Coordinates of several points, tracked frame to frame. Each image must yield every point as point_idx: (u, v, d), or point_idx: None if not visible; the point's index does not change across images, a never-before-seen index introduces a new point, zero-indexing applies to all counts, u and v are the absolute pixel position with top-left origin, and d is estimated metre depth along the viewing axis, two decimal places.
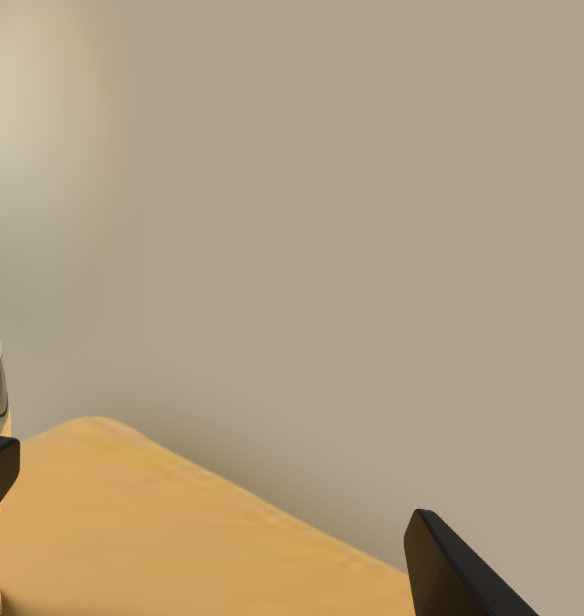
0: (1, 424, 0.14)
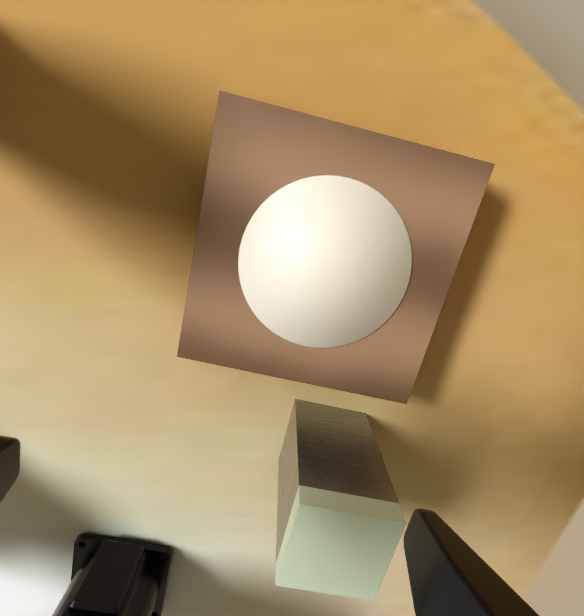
0: None
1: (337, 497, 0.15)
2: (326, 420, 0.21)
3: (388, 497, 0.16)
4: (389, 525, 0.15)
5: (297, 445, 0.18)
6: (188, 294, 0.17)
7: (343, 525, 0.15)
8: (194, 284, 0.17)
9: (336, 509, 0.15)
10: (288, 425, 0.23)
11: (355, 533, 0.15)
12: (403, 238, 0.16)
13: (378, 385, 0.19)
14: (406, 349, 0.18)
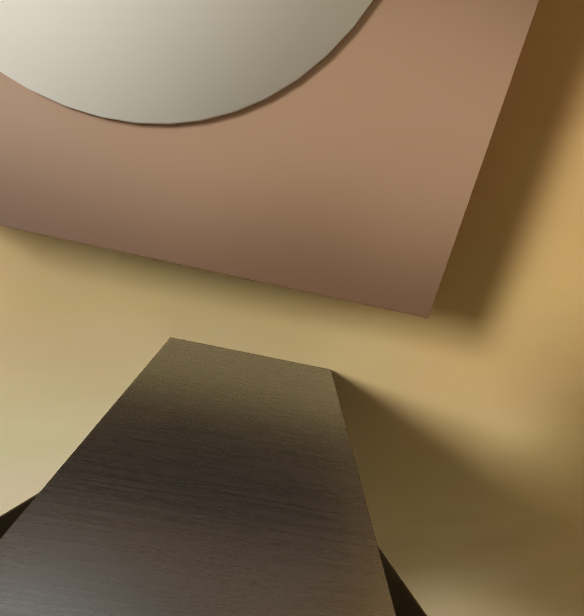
0: None
1: None
2: (224, 380, 0.08)
3: None
4: None
5: (87, 440, 0.06)
6: None
7: None
8: None
9: None
10: None
11: None
12: None
13: (344, 259, 0.06)
14: (427, 132, 0.06)
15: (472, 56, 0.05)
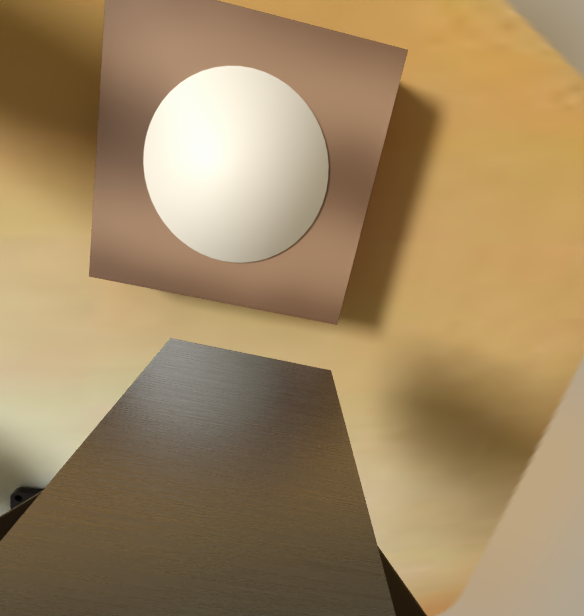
0: None
1: None
2: (224, 381, 0.08)
3: None
4: None
5: (87, 441, 0.06)
6: (94, 205, 0.16)
7: None
8: (100, 194, 0.16)
9: None
10: None
11: None
12: (316, 136, 0.15)
13: (305, 304, 0.18)
14: (331, 262, 0.17)
15: (343, 240, 0.17)
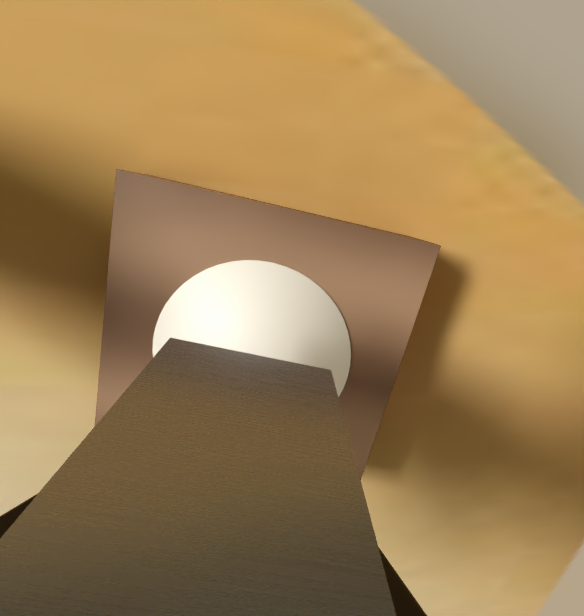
0: None
1: None
2: (224, 380, 0.08)
3: None
4: None
5: (86, 440, 0.06)
6: (99, 387, 0.15)
7: None
8: (105, 377, 0.15)
9: None
10: None
11: None
12: (339, 327, 0.14)
13: None
14: None
15: (364, 421, 0.16)
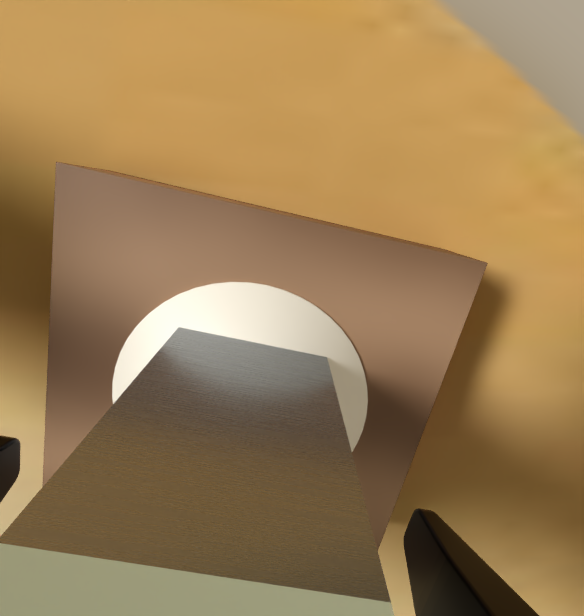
0: None
1: (138, 596, 0.04)
2: (229, 363, 0.09)
3: (353, 577, 0.04)
4: None
5: (111, 410, 0.07)
6: (46, 442, 0.12)
7: None
8: (53, 429, 0.12)
9: None
10: None
11: None
12: (353, 367, 0.11)
13: None
14: None
15: (383, 482, 0.12)
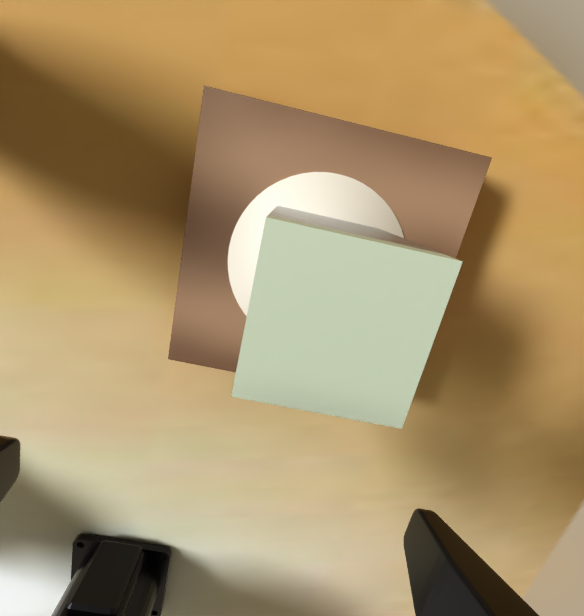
0: None
1: (336, 231, 0.09)
2: (321, 217, 0.14)
3: (425, 249, 0.09)
4: (431, 267, 0.08)
5: (273, 211, 0.11)
6: (178, 296, 0.17)
7: (347, 267, 0.08)
8: (183, 285, 0.17)
9: (333, 232, 0.08)
10: None
11: (369, 285, 0.08)
12: None
13: None
14: None
15: None
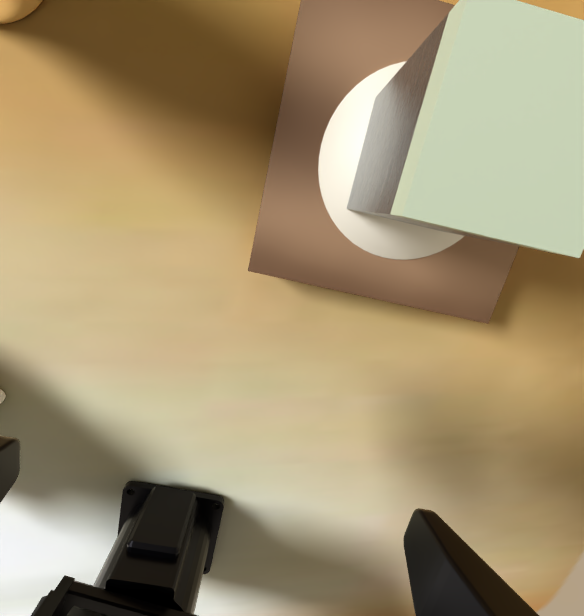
0: None
1: None
2: None
3: None
4: None
5: (410, 59, 0.11)
6: (263, 199, 0.16)
7: (549, 52, 0.08)
8: (270, 188, 0.16)
9: (540, 9, 0.07)
10: (364, 143, 0.15)
11: (570, 76, 0.08)
12: None
13: (459, 302, 0.17)
14: (491, 261, 0.17)
15: None
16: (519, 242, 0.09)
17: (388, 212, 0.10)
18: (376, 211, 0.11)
